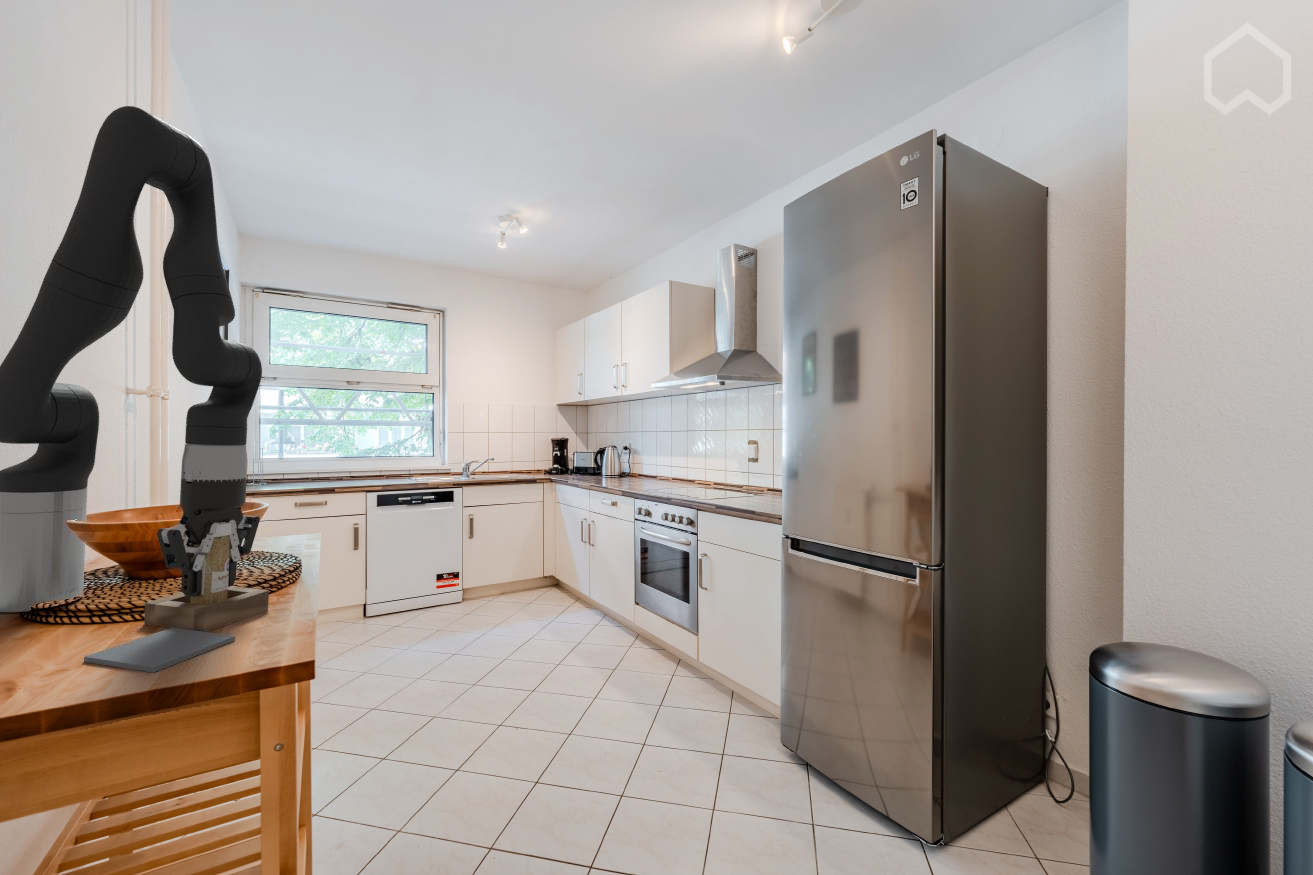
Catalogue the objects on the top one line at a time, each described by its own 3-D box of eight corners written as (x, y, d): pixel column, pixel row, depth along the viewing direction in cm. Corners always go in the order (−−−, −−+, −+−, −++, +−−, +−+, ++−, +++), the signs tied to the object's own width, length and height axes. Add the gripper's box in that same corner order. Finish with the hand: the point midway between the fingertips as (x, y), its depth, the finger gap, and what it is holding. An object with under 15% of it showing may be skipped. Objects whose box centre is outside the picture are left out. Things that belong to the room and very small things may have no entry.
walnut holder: (144, 624, 77) (145, 602, 76) (213, 602, 86) (214, 583, 86) (204, 632, 75) (205, 610, 75) (268, 609, 85) (268, 590, 85)
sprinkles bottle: (229, 614, 81) (234, 523, 80) (188, 620, 77) (193, 525, 77) (225, 605, 84) (230, 518, 84) (186, 611, 81) (191, 520, 81)
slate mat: (83, 661, 65) (84, 656, 65) (172, 631, 74) (172, 627, 74) (153, 672, 63) (153, 667, 63) (234, 640, 73) (234, 635, 73)
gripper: (238, 470, 88) (232, 575, 88) (140, 476, 74) (134, 602, 74) (278, 473, 87) (273, 580, 87) (186, 480, 73) (180, 608, 73)
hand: (209, 590), depth 81 cm, fingers closed on sprinkles bottle, 4 cm apart
